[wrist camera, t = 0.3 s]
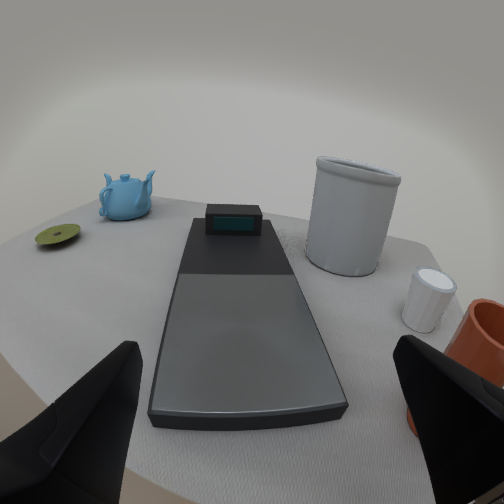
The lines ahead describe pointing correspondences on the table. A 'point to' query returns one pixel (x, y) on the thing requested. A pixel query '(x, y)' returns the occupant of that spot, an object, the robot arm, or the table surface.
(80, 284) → the table surface
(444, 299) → the shot glass
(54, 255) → the table surface
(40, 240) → the mat
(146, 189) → the teapot
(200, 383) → the scale
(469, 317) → the cup
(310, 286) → the table surface
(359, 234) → the utensil holder
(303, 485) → the table surface
